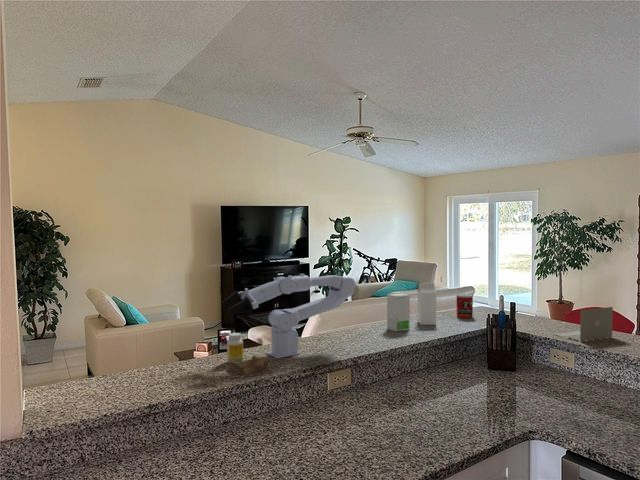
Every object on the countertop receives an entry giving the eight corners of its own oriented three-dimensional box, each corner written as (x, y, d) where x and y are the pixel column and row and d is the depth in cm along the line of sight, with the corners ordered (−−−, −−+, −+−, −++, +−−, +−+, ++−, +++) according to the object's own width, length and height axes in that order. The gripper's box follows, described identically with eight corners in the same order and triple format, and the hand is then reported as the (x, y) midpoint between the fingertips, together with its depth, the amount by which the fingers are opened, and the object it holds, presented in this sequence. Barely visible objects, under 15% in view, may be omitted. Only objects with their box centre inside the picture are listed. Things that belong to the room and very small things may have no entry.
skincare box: (395, 332, 195) (395, 296, 194) (385, 329, 201) (385, 294, 200) (410, 329, 199) (410, 294, 198) (400, 326, 205) (400, 292, 204)
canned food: (457, 318, 221) (457, 296, 221) (455, 315, 229) (455, 293, 229) (473, 318, 220) (474, 296, 220) (471, 315, 228) (471, 293, 228)
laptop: (584, 331, 195) (584, 301, 194) (612, 338, 183) (613, 306, 183) (553, 336, 188) (554, 305, 188) (580, 343, 176) (581, 310, 176)
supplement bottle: (224, 361, 155) (224, 333, 155) (238, 358, 159) (238, 331, 158) (232, 365, 151) (231, 336, 151) (246, 361, 155) (245, 334, 154)
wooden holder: (255, 363, 153) (254, 351, 153) (267, 369, 147) (266, 357, 147) (229, 368, 148) (229, 356, 148) (240, 375, 141) (240, 362, 141)
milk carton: (436, 325, 207) (436, 284, 207) (420, 325, 208) (420, 284, 207) (432, 321, 215) (432, 281, 214) (417, 321, 215) (417, 282, 214)
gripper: (250, 279, 163) (215, 292, 157) (267, 288, 151) (229, 303, 145) (255, 296, 165) (220, 310, 159) (271, 307, 153) (235, 323, 147)
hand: (225, 308), depth 152 cm, fingers open, 7 cm apart
